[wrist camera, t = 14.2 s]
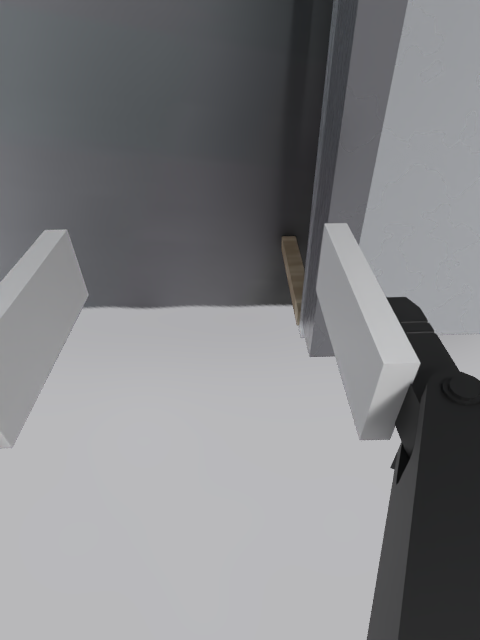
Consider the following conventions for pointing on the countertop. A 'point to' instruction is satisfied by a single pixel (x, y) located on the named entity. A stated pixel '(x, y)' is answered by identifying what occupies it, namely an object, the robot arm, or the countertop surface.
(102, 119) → the countertop surface
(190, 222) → the countertop surface
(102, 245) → the countertop surface
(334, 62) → the lid
